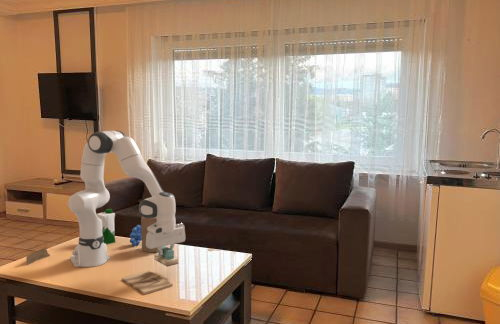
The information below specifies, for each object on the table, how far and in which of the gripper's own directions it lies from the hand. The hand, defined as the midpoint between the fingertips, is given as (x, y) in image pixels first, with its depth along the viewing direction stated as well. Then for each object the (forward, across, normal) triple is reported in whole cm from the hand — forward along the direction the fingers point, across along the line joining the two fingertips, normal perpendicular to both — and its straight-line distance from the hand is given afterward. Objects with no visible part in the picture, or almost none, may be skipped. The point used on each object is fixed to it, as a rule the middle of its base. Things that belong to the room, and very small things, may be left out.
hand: (166, 253), depth 202 cm
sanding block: (+4, 0, 0) cm, 4 cm away
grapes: (+11, -10, -51) cm, 54 cm away
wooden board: (+10, +12, +4) cm, 16 cm away
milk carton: (+12, +1, -67) cm, 68 cm away
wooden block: (+11, -13, -36) cm, 40 cm away
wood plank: (+12, +41, -62) cm, 75 cm away
